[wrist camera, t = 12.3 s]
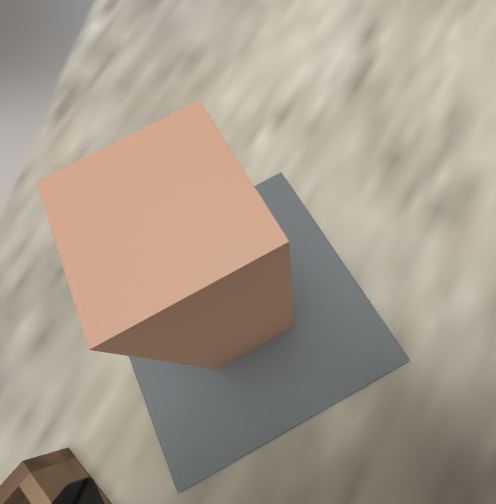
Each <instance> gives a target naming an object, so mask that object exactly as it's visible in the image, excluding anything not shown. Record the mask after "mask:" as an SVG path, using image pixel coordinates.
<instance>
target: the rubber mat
mask: <svg viewBox="0 0 496 504" xmlns="http://www.w3.org/2000/svg"><path fill="white" fill-rule="evenodd" d="M254 187H255V188H256V190H257V191H258V193H259V195H260V196H261V198H262V199H263V201H264V203H265V204H266V206H267V207H268V209H269V210H270V212H271V214H272V215H273V217H274V218H275V220H276V222H277V223H278V225H279V226H280V228H281V229H282V231H283V233H284V234H285V236H286V237H287V239H288V240H289V249H290V268H291V288H292V307H293V327H292V328H290V329H289V330H287V331H285V332H283V333H281V334H280V335H278V336H276V337H274V338H272V339H271V340H269V341H267V342H265V343H264V344H262V345H260V346H258V347H256V348H255V349H253V350H251V351H249V352H247V353H246V354H244V355H242V356H240V357H238V358H237V359H235V360H233V361H231V362H229V363H228V364H226V365H224V366H222V367H221V368H219V369H212V368H205V367H199V366H192V365H185V364H179V363H172V362H166V361H159V360H153V359H146V358H140V357H133V356H129V358H130V360H131V363H132V366H133V369H134V372H135V374H136V377H137V380H138V383H139V386H140V388H141V391H142V394H143V397H144V400H145V402H146V405H147V408H148V411H149V414H150V417H151V419H152V422H153V425H154V428H155V431H156V433H157V436H158V439H159V442H160V445H161V447H162V450H163V453H164V456H165V459H166V461H167V464H168V467H169V470H170V473H171V475H172V478H173V481H174V484H175V487H176V489H177V492H178V493H180V492H182V491H183V490H185V489H187V488H188V487H190V486H192V485H194V484H195V483H197V482H199V481H201V480H202V479H204V478H206V477H208V476H209V475H211V474H213V473H215V472H216V471H218V470H220V469H222V468H223V467H225V466H227V465H228V464H230V463H232V462H234V461H235V460H237V459H239V458H241V457H242V456H244V455H246V454H248V453H249V452H251V451H253V450H255V449H256V448H258V447H260V446H262V445H263V444H265V443H267V442H268V441H270V440H272V439H274V438H275V437H277V436H279V435H281V434H282V433H284V432H286V431H288V430H289V429H291V428H293V427H295V426H296V425H298V424H300V423H302V422H303V421H305V420H307V419H308V418H310V417H312V416H314V415H315V414H317V413H319V412H321V411H322V410H324V409H326V408H328V407H329V406H331V405H333V404H335V403H336V402H338V401H340V400H342V399H343V398H345V397H347V396H349V395H350V394H352V393H354V392H355V391H357V390H359V389H361V388H362V387H364V386H366V385H368V384H369V383H371V382H373V381H375V380H376V379H378V378H380V377H382V376H383V375H385V374H387V373H389V372H390V371H392V370H394V369H395V368H397V367H399V366H401V365H402V364H404V363H406V362H408V361H409V360H410V359H409V358H408V357H407V355H406V354H405V352H404V351H403V349H402V348H401V346H400V345H399V343H398V342H397V341H396V339H395V338H394V336H393V335H392V333H391V332H390V330H389V329H388V327H387V326H386V324H385V323H384V322H383V320H382V319H381V317H380V316H379V314H378V313H377V311H376V310H375V308H374V307H373V305H372V304H371V303H370V301H369V300H368V298H367V297H366V295H365V294H364V292H363V291H362V289H361V288H360V287H359V285H358V284H357V282H356V281H355V279H354V278H353V276H352V275H351V273H350V272H349V270H348V269H347V268H346V266H345V265H344V263H343V262H342V260H341V259H340V257H339V256H338V254H337V253H336V251H335V250H334V249H333V247H332V246H331V244H330V243H329V241H328V240H327V238H326V237H325V235H324V234H323V232H322V231H321V230H320V228H319V227H318V225H317V224H316V222H315V221H314V219H313V218H312V216H311V215H310V214H309V212H308V211H307V209H306V208H305V206H304V205H303V203H302V202H301V200H300V199H299V197H298V196H297V195H296V193H295V192H294V190H293V189H292V187H291V186H290V184H289V183H288V181H287V180H286V178H285V177H284V176H283V174H282V173H279V174H277V175H275V176H273V177H271V178H269V179H268V180H266V181H264V182H262V183H260V184H258V185H256V186H254Z"/></svg>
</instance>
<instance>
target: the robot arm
mask: <svg viewBox="0 0 496 504" xmlns="http://www.w3.org/2000/svg"><path fill="white" fill-rule="evenodd" d="M51 504H105V503H104V501H103V499H102V496H101V494H100V492H99V490H98V488H97V486H96V483H95V481H94V480H93V478H91V477H84V478H81V479H78V480H74V481H72V482H70V483H68V484H67V485H66V486H65V487H64V488H63V489H62V491H61V492H60V493H59V494H58V495H57V497H56V498H55V499H54V500H53V501H52V503H51Z"/></svg>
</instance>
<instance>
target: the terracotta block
mask: <svg viewBox="0 0 496 504" xmlns="http://www.w3.org/2000/svg"><path fill="white" fill-rule="evenodd" d="M37 185H38V188H39V191H40V195H41V198H42V201H43V204H44V207H45V211H46V214H47V217H48V220H49V223H50V227H51V230H52V233H53V236H54V239H55V243H56V246H57V249H58V252H59V255H60V259H61V262H62V265H63V268H64V271H65V274H66V278H67V281H68V284H69V287H70V290H71V294H72V297H73V300H74V303H75V306H76V310H77V313H78V316H79V319H80V322H81V326H82V329H83V332H84V335H85V338H86V342H87V345H88V348H89V350H94V351H100V352H107V353H113V354H120V355H127V356H133V357H140V358H146V359H153V360H159V361H166V362H172V363H179V364H185V365H192V366H199V367H205V368H212V369H219V368H221V367H222V366H224V365H226V364H228V363H229V362H231V361H233V360H235V359H237V358H238V357H240V356H242V355H244V354H246V353H247V352H249V351H251V350H253V349H255V348H256V347H258V346H260V345H262V344H264V343H265V342H267V341H269V340H271V339H272V338H274V337H276V336H278V335H280V334H281V333H283V332H285V331H287V330H289V329H290V328H292V327H293V307H292V288H291V268H290V249H289V240H288V239H287V237H286V236H285V234H284V233H283V231H282V229H281V228H280V226H279V225H278V223H277V222H276V220H275V218H274V217H273V215H272V214H271V212H270V210H269V209H268V207H267V206H266V204H265V203H264V201H263V199H262V198H261V196H260V195H259V193H258V191H257V190H256V188H255V187H254V185H253V184H252V182H251V180H250V179H249V177H248V176H247V174H246V173H245V171H244V169H243V168H242V166H241V165H240V163H239V161H238V160H237V158H236V157H235V155H234V154H233V152H232V150H231V149H230V147H229V146H228V144H227V142H226V141H225V139H224V138H223V136H222V135H221V133H220V131H219V130H218V128H217V127H216V125H215V123H214V122H213V120H212V119H211V117H210V116H209V114H208V112H207V111H206V109H205V108H204V106H203V105H202V103H201V101H200V100H197V101H195V102H194V103H192V104H190V105H188V106H186V107H184V108H182V109H180V110H178V111H176V112H174V113H172V114H170V115H168V116H166V117H164V118H162V119H160V120H158V121H156V122H154V123H152V124H150V125H148V126H146V127H144V128H142V129H140V130H138V131H136V132H134V133H132V134H130V135H128V136H126V137H124V138H122V139H120V140H119V141H117V142H115V143H113V144H111V145H109V146H107V147H105V148H103V149H101V150H99V151H97V152H95V153H93V154H91V155H89V156H87V157H85V158H83V159H81V160H79V161H77V162H75V163H73V164H71V165H69V166H67V167H65V168H63V169H61V170H59V171H57V172H55V173H53V174H51V175H49V176H47V177H45V178H44V179H42V180H40V181H38V182H37Z"/></svg>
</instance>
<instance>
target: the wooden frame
mask: <svg viewBox="0 0 496 504" xmlns="http://www.w3.org/2000/svg"><path fill="white" fill-rule="evenodd" d="M84 477H90V476H89V474H88V473H87V472H86V470H85V469H84V468H83V467H82V465H81V464H80V463H79V461H78V460H77V459H76V457H75V456H74V455H73V454H72V452H71V451H70V450H69V448H66V449H62V450H59V451H55V452H52V453H49V454H45V455H42V456H38V457H35V458H31V459H28V460H25V461H22V462H21V463H20V464H19V465H18V467H17V468H16V469H15V470H14V471H13V472H12V473H11V474H10V475H9V477H8V478H7V479H6V480H5V481H4V482H3V483H2V484H1V485H0V504H51V503H52V501H53V500H54V499H55V498H56V497H57V495H58V494H59V493H60V492H61V491H62V489H63V488H64V487H65V486H66V485H67V484H68V483H70V482H72V481H74V480H78V479H81V478H84ZM96 486H97V485H96ZM97 488H98V490H99V492H100V494H101V496H102V499H103V501H104V503H105V504H111V503H110V502H109V500H108V499H107V498H106V496H105V495H104V494H103V493H102V491H101V490H100V489H99V487H98V486H97Z"/></svg>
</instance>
